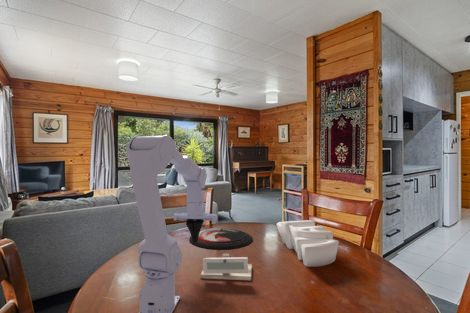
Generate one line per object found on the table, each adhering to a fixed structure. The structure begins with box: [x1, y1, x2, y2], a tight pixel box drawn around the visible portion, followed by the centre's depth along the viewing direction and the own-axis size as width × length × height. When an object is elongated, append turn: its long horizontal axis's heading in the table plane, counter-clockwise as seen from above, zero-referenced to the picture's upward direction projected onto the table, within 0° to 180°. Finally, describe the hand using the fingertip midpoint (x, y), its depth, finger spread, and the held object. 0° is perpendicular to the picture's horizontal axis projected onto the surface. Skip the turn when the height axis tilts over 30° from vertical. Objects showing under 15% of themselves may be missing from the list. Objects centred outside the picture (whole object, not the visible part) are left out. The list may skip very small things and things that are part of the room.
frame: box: [202, 256, 249, 274], centre depth 75 cm, size 2×14×4 cm, turn 85°
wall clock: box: [188, 227, 254, 251], centre depth 113 cm, size 27×5×30 cm
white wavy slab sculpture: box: [276, 219, 340, 268], centre depth 97 cm, size 35×16×11 cm, turn 5°
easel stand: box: [200, 253, 253, 281], centre depth 80 cm, size 9×16×7 cm, turn 85°
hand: (195, 241), depth 82 cm, fingers closed
